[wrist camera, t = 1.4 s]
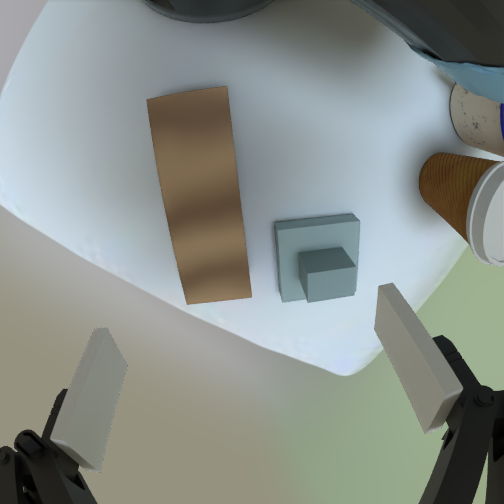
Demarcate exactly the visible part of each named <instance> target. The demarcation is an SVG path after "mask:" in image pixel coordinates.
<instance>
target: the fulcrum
mask: <svg viewBox="0 0 504 504" xmlns="http://www.w3.org/2000/svg"><path fill="white" fill-rule="evenodd" d="M275 235H276V248H277V261H278V275H279V289H280V295H281V299H282V303H283V302H290V301H297V300H304V299H307V302H308V303H309V302H316V301H322V300H329V299H335V298H341V297H347V296H353V295H354V294H355V291H356V285H357V272H358V256H359V235H360V220H358V219H357V218H356V217H355V216H354V215H353V214H347V215H337V216H328V217H319V218H309V219H301V220H292V221H283V222H275Z"/></svg>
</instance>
